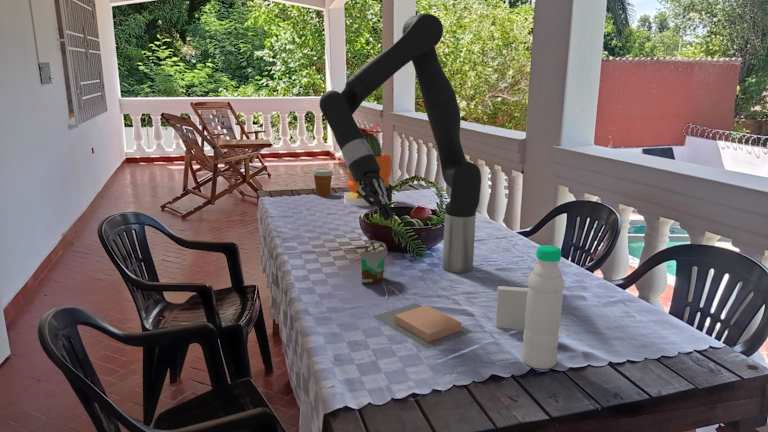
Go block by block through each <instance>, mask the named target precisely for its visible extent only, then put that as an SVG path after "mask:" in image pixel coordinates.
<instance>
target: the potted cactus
mask: <svg viewBox="0 0 768 432" xmlns="http://www.w3.org/2000/svg"><path fill="white" fill-rule="evenodd" d="M379 126H380V124H379V123H378V124H377V123H375V124H374V125H373V126H371V127H369V126H367V128H365V127H364V126H363V127H359V128H360V130H361V132H362V134H363V136H364V138H365V140H366V142H367V143H368V145H369V146H370V148H371V150H372V152H373V154H374V156H375V158H376V160H377V162H378V164H379V166H380V168H381V171H380V173H379V175H380V177H381V178H382V179H383V181H384V183H385V184H386V185H389V184H390V181H389V178H390V177H391V173H392V166H393V165H392V164H393V163H392V156H391V154H389V153H386V152H383V151H382V150H383V148H382V145H381V144H382V141H381V139H378V136H377V134H381V133H383V131H382V130H376V129H378V128H379ZM346 171H347V175H348V178H349V180H348V182H347V184H346V187H347V190H349V192H346V193H344V194H343V195H344V196H343V202H344V204H345V205H346V206H352V207H371V206H370V205H369V204H368V203H367V202H366V201H365V200H364V199H363V198H362V197H361V196H360V195H358V194H357V192H356V191H357V190H358V189H359V188H360V185H359V183H357V182H355V181H354V179H353V177H352V175H351V173H350V171H349V169H348V167H347V166H346Z"/></svg>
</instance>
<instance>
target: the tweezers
mask: <svg viewBox="0 0 768 432" xmlns="http://www.w3.org/2000/svg"><path fill="white" fill-rule="evenodd" d="M380 283H381V284H382V286H383V288H384V291H385V294H386V296H385V299H386V300H389V299H390V298H389V297H388V292H387V289H386V286H385V285H387V286H388V287H389V288H390V289H392V291H394V293H395V294H396V295H398V296H399V299H403V298H404V296H403V295H402V294H400V293H399V291H398V290H396V289H395V288H393V287H392V286H389V284H387V283H386V282H383V280H382V281H381V282H380ZM392 300H393V299H390V301H392Z"/></svg>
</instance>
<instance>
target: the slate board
mask: <svg viewBox="0 0 768 432" xmlns="http://www.w3.org/2000/svg"><path fill="white" fill-rule="evenodd" d="M422 306H423V305H421V304H419V303H417V302H414V303H411V304H409V305H405V306H402V307H398V308H395V309H392V310H389V311H386V312H382V313H379V314H375V315H372V318H374V319H376V320H377V321H379V322H381V323H383V324H384V325H386V326H388V328H391V329H393V330H394V331H397V332H398V333H400V334H401V335H404V336H405V337H407V338H408V339H411V340H412V341H414V342H415V343H417V344H419V345H420V346H422V347H423V348H426V349H429V348H432V347H434V346H438V345H441V344H443V343H445V342H448V341H451V340H454V339H456V338H460V337H461V336H464V335H467V334H470V333H473V330H471V329H468V328H467V327H464V326H463V325H461V331H458V332H455V333H452V334H450V335H447V336H444V337H441V338H439V339H436V340H433V341H431V342H427V341H426V340H424V339H422V338H420V337H419V336H417V335H415V334H413V333H411V332H410V331H408V330H406V329H404V328H403V327H401V326H399V325H397V324H396V323H395V315H397V314H400V313H403V312H406V311H410V310H413V309H416V308H419V307H422Z"/></svg>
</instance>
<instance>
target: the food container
mask: <svg viewBox="0 0 768 432" xmlns="http://www.w3.org/2000/svg"><path fill="white" fill-rule="evenodd" d="M386 256H388V248H387V246H386V243H384V242H382V241H378V240H370V243H369V245H368V246H367V247H366V248H365V250H364V251H361V253H360V261H361V285H362V286H363V285H364V286H368V285H376V284H380V283H382V282H383V280H384V272H385V260H386ZM381 281H382V282H381Z"/></svg>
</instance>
